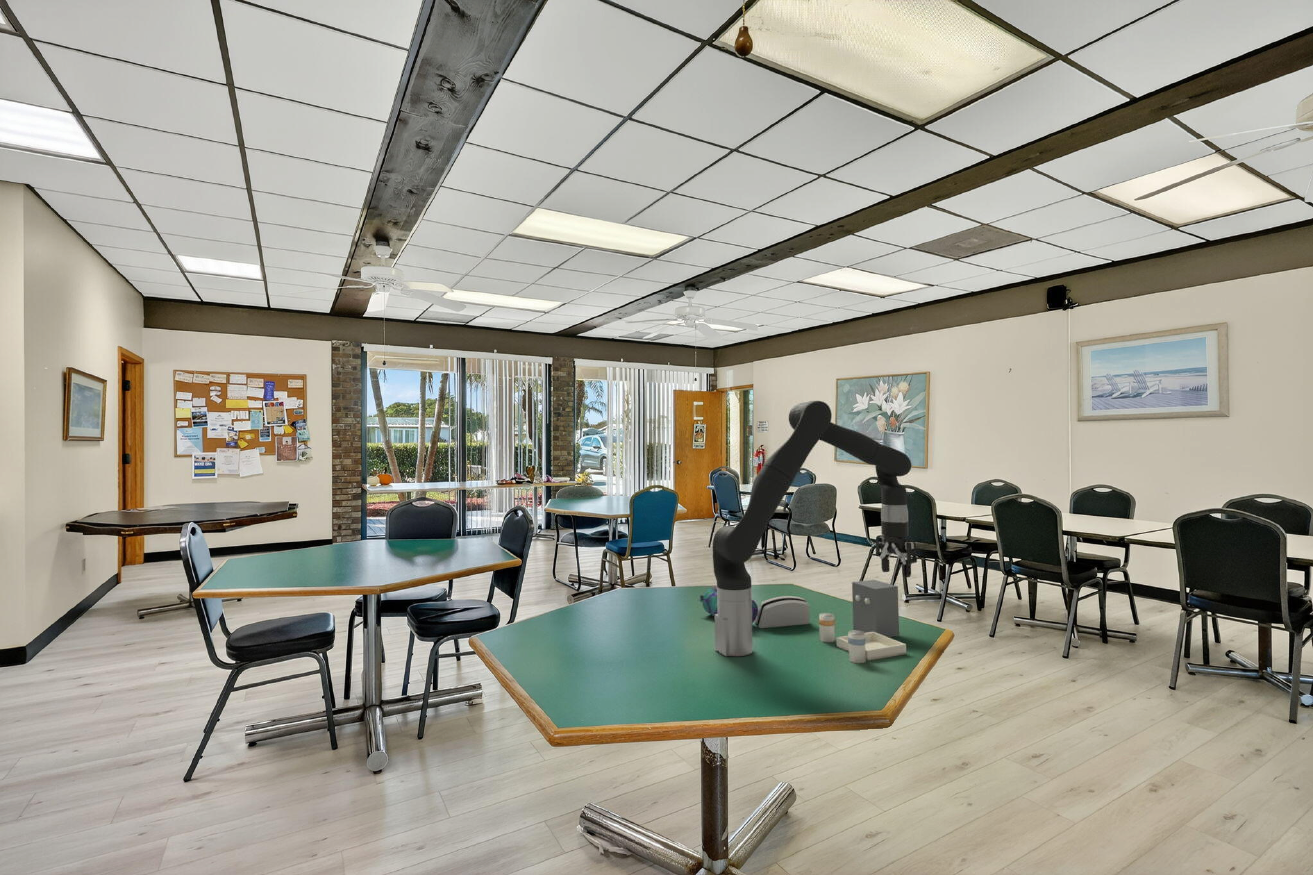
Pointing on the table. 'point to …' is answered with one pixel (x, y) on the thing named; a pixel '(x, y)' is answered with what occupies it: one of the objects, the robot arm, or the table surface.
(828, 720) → the table surface
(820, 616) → the white orange rounded cylinder
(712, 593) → the pencil case
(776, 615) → the white slotted rounded block
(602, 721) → the table surface
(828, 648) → the table surface
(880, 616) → the control box
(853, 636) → the blue-band fuse
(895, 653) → the parts tray
